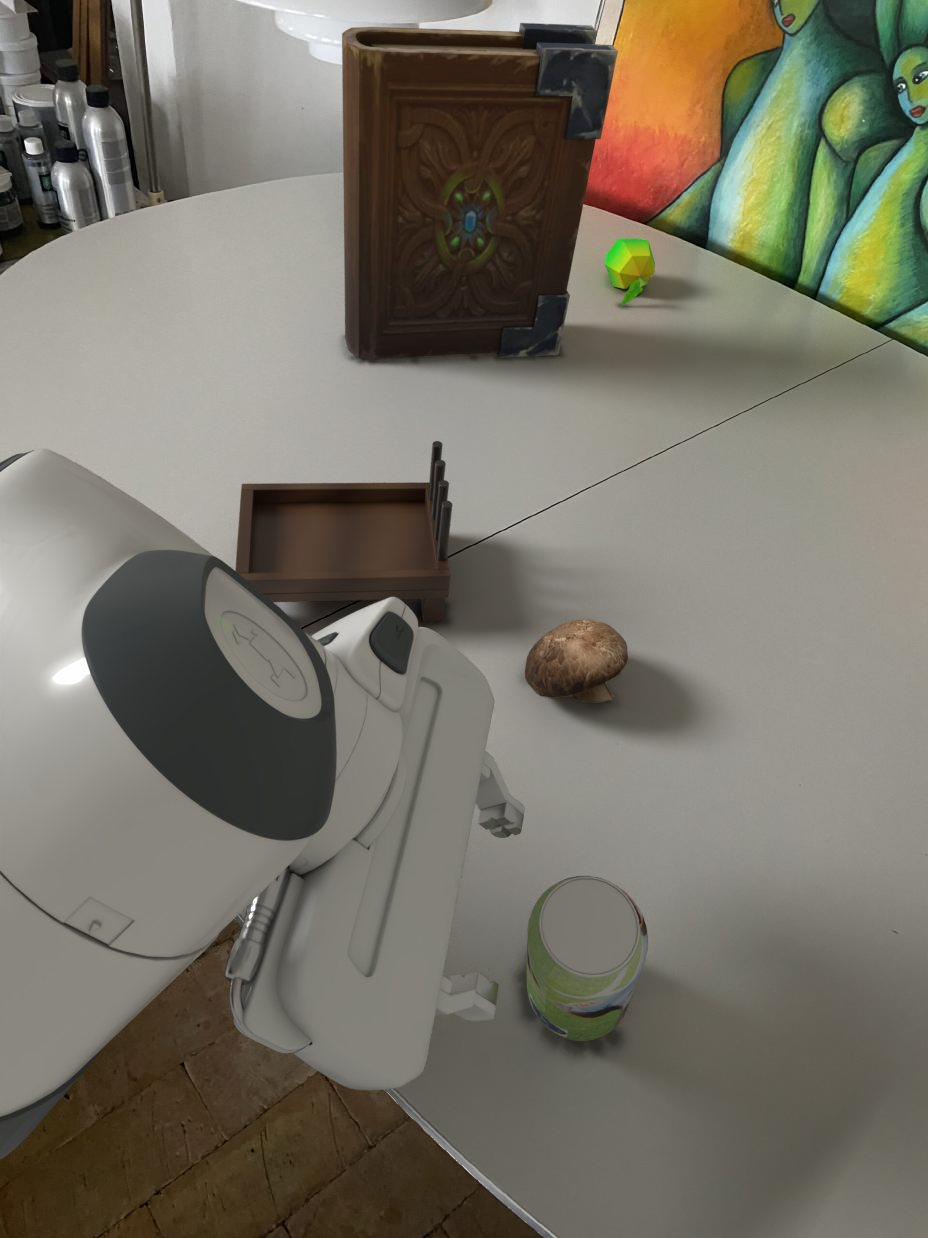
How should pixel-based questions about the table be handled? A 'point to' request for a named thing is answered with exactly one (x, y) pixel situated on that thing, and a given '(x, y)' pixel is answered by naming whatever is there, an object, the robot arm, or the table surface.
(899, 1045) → the table surface
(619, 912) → the beverage can
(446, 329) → the decorative book
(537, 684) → the mushroom
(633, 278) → the apple
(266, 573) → the tray
